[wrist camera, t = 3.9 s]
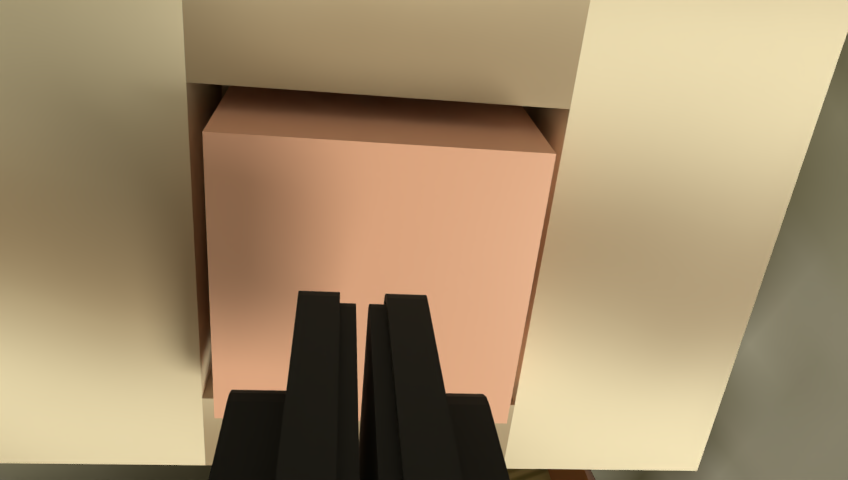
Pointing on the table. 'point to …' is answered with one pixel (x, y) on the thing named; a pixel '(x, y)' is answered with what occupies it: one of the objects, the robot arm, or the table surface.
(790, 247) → the table surface
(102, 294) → the beige flat block
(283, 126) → the key terracotta
